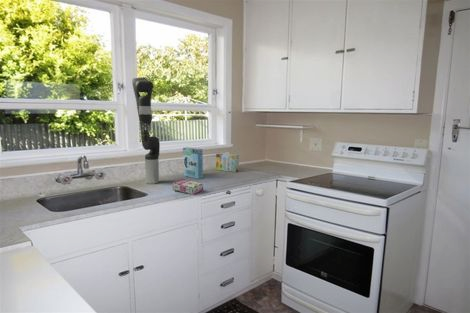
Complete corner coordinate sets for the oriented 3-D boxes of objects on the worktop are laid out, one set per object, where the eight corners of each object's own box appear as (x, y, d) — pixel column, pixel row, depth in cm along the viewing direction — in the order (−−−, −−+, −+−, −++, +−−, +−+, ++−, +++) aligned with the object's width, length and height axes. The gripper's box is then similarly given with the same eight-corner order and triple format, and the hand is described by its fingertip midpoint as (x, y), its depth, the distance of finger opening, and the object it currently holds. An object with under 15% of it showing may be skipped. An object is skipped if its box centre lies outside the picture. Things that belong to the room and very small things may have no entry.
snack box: (239, 171, 268) (239, 154, 266) (235, 172, 263) (235, 155, 261) (219, 169, 279) (219, 152, 277) (215, 170, 274) (215, 153, 272)
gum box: (203, 178, 237) (202, 149, 234) (197, 179, 234) (197, 149, 231) (188, 174, 251) (187, 147, 248) (183, 175, 248) (182, 147, 245)
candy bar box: (172, 190, 197) (192, 195, 188) (172, 182, 196) (192, 187, 187) (184, 185, 206) (203, 190, 198) (184, 178, 205) (203, 183, 197)
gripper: (139, 113, 195) (140, 140, 198) (138, 113, 183) (139, 142, 185) (151, 113, 197) (152, 140, 200) (151, 113, 185) (152, 142, 187)
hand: (146, 141), depth 192 cm, fingers closed
